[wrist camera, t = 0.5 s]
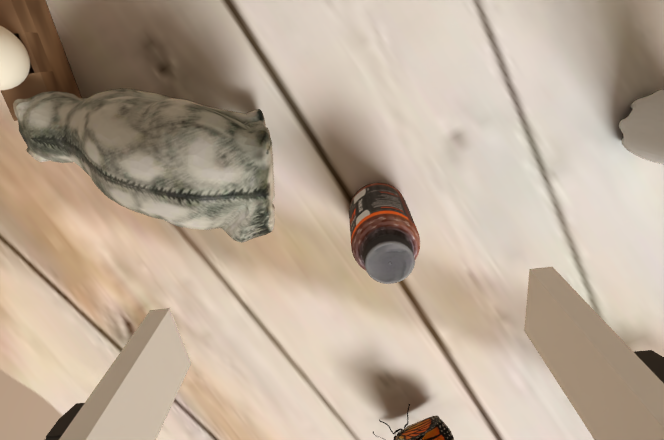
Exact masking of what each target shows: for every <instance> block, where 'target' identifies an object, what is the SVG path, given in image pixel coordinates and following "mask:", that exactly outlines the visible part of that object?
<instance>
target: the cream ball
mask: <svg viewBox="0 0 664 440" xmlns="http://www.w3.org/2000/svg"><path fill="white" fill-rule="evenodd" d="M29 70H30V59H29V55H28V52H27V50H26V48H25V46H24V45H23V44H22V42H21V41H20V40H19V39H18V38H17V37H16V36H15V35H14V34H13V33H11V32H10V31H9V30H7V29H6V28H4V27H2V26H0V90H7V89H11V88H14V87H16V86H18V85H20V84H21V83H22V82H23V81H24V80H25V79H26V77H27V75H28V73H29Z"/></svg>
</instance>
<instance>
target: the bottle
mask: <svg viewBox="0 0 664 440" xmlns="http://www.w3.org/2000/svg"><path fill="white" fill-rule="evenodd" d="M631 108H632V109H633V110H632V111H631V113H630V114H629V116H628V117H627V118H625V119H622V120H621V121H620V124H619V128H620V129H621V131H622V133H623V136H624V137H623V138H622V144H623V146H624V147H625V148H626V149H627V150H628V151H630V152H631V153H633V154H635V155H637V156H639V157H641V158H643V159H646V160H649V161H652V162H655V163H659V164H663V165H664V89H662V90H658V91H656V92H654V93H653V94H652V95H649V96H646V97H642V98H639V99H637V100H635V101H634V102H633V103H632V104H631Z"/></svg>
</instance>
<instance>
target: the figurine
mask: <svg viewBox="0 0 664 440" xmlns="http://www.w3.org/2000/svg"><path fill="white" fill-rule="evenodd" d="M13 108H14V112H15V115H16V117H17V119H18V123H19V131H20V134H21V135H22V137H23V139H24V141H25V142H26V144H27V146H28V148H27V152H28V153H29V154H30V155H31V156H32V157H33V158H34V159H35V160H37V161H39V162H45V161H54V162H60V163H69V162H75V163H76V164H77V165H79V166H80V167H81V168H82V169H83V170H84V171H85V172H86V173H87V174H88V175H89V176H90V177H91V178H92V180H93V182H94V183H95V184H96V186H97V187H98V188H99V189H100V190H101V191H102V192H103V193H104V194H105V195H106V196H107V197H108V198H110V199H111V200H113V201H115V202H116V203H118V204H119V205H121V206H123V207H126V208H128V209H130V210H133V211H135V212H138V213H141V214H144V215H147V216H150V217H154V218H158V219H162V220H165V221H167V222H169V223H171V224H173V225H176V226H180V227H185V228H189V229H201V230H208V229H215V228H222V229H223V230H224V231H225V232H226V233H227V234H228V235H229V236H230V237H231V238H233V239H234V240H235V241H238V242H245V241H248V240H250V239H253V238H255V237H259V236H262V235H266V234H268V233H270V232H271V231H272V230H273V227H274V222H275V210H274V205H273V201H274V196H275V191H274V174H273V154H272V142H271V138H270V133H269V130H268V128H267V127H266V125H265V120H264V116H263V113H262V111H261V110H260V109H259V110H253V111H251V112H248V113H246V114H244V113H238V112H233V111H227V110H222V109H217V108H212V107H208V106H204V105H200V104H197V103H194V102H191V101H188V100H185V99H174V98H170V97H167V96H164V95H160V94H156V93H151V92H145V91H139V90H134V89H115V90H109V91H104V92H100V93H97V94H95V95H93V96H91V97H89V98H87V99H86V98H78V97H77V96H76V95H74V94H71V93H67V92H58V91H50V92H42V93H39V94H37V95H35V96H33V97H31V98H28V99H17V100H15V101H14V103H13Z"/></svg>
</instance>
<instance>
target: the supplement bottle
mask: <svg viewBox="0 0 664 440" xmlns="http://www.w3.org/2000/svg"><path fill="white" fill-rule="evenodd" d="M349 218H350V231H351V246H352V253H353V256H354V258H355V260H356V261H357V263H358V264H359V265H360V266H361V267H362V268H363V269H364V270H366V271H367V273H368V274H369V276H370V277H371V278H373V279H374V280H376V281H378V282H380V283H384V284H391V283H397V282H399V281H402V280H404V279H405V278H406V277H408V275H409V274H410V273H411V272H412V270H413V268H414V264H415V259H416V258H417V256H418V253H419V249H420V238H419V234H418V231H417V228H416V226H415V224H414V221H413V219H412V216H411V214H410V211H409V209H408V207H407V204H406V202H405V200H404V198H403V196H402V195H401V193H400V192H399V191H398V190H397V189H396V188H394V187H392V186H390V185H387V184H383V183H374V184H369V185H367V186H365V187H363V188H361V189H360V190H359V191H358V192H357V193H356V194H355V195H354V197H353V198H352V201H351V204H350V210H349Z"/></svg>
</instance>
